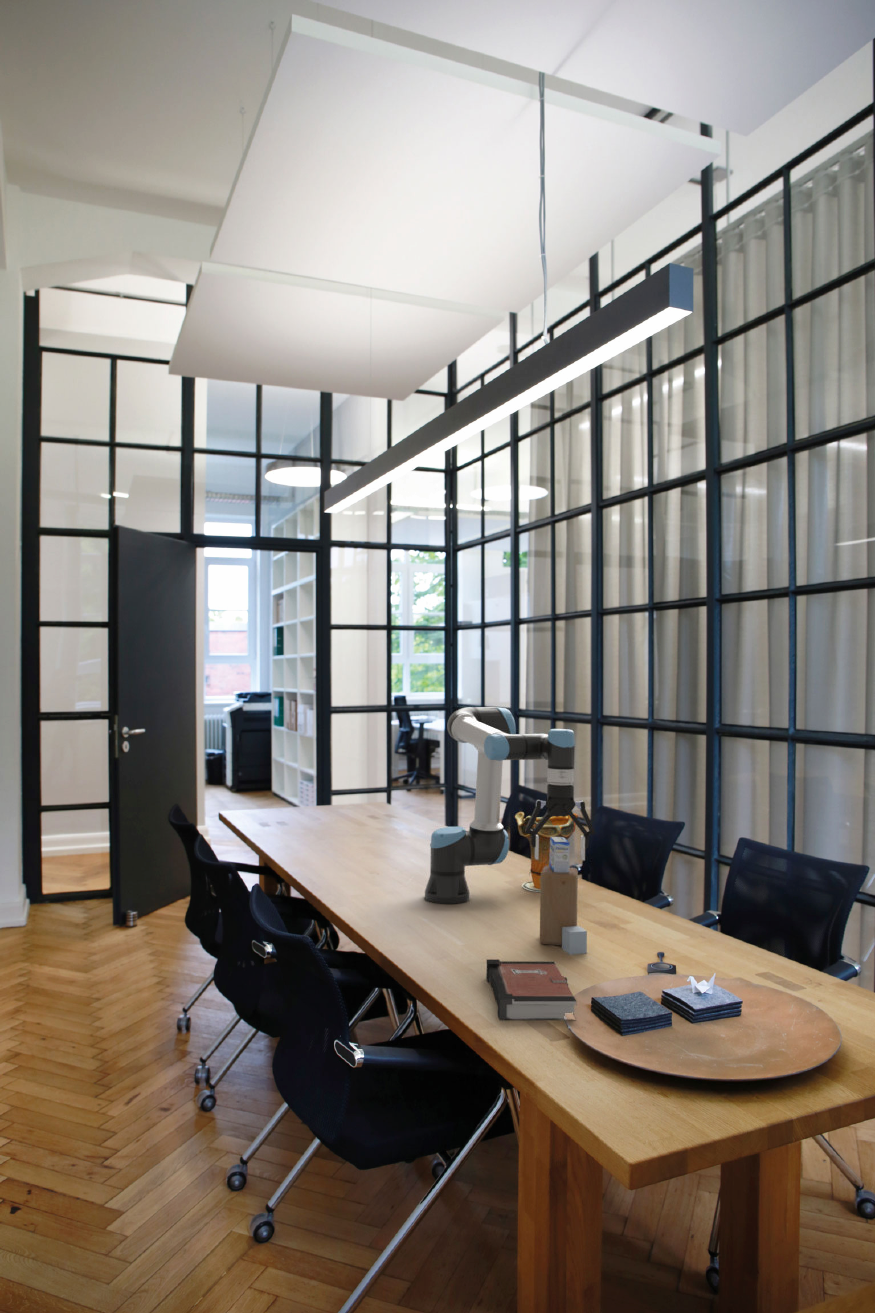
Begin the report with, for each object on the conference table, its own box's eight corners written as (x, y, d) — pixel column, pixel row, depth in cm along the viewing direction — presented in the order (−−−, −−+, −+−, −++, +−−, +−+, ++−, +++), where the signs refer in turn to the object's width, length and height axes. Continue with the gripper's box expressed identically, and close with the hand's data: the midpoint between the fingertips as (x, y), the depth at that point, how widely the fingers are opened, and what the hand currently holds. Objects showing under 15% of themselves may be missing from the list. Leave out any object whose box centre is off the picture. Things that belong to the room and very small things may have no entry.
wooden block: (575, 947, 234) (576, 875, 234) (539, 944, 236) (540, 872, 237) (577, 937, 244) (578, 867, 244) (542, 934, 246) (543, 865, 246)
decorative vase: (501, 882, 307) (506, 805, 309) (556, 881, 316) (560, 805, 318) (530, 896, 288) (535, 813, 290) (587, 894, 297) (591, 814, 299)
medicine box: (549, 866, 244) (549, 836, 245) (564, 867, 245) (564, 836, 245) (553, 873, 237) (554, 841, 237) (569, 873, 237) (570, 842, 237)
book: (579, 1022, 183) (579, 999, 183) (499, 1022, 182) (499, 999, 182) (556, 980, 209) (556, 959, 209) (486, 980, 208) (486, 959, 209)
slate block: (569, 954, 228) (569, 932, 228) (562, 949, 233) (562, 927, 233) (586, 953, 229) (586, 931, 229) (578, 948, 234) (579, 926, 234)
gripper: (518, 784, 237) (517, 861, 237) (606, 785, 237) (605, 862, 237) (516, 781, 245) (515, 855, 244) (601, 782, 245) (600, 857, 244)
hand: (559, 859), depth 241 cm, fingers open, 12 cm apart
